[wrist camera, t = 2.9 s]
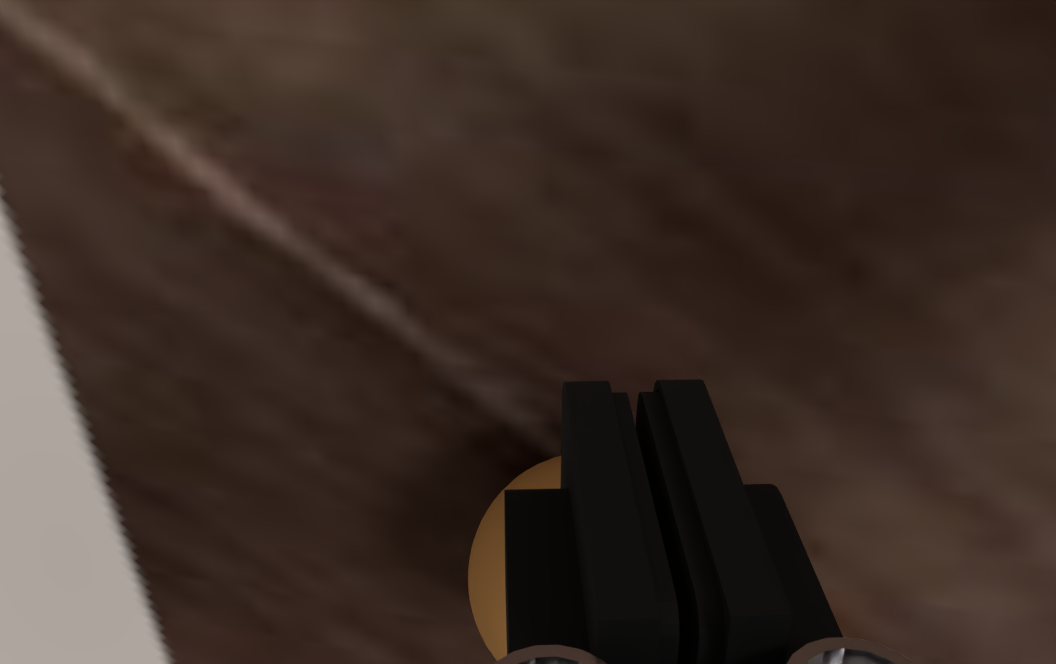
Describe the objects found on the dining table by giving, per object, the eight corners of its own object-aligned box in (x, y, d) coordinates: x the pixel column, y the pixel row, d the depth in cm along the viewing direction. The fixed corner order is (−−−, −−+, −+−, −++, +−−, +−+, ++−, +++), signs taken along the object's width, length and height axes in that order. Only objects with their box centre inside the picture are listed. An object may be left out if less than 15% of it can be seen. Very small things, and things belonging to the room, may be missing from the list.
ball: (469, 405, 25) (458, 566, 20) (704, 403, 25) (756, 564, 20) (474, 584, 28) (466, 767, 23) (686, 582, 28) (727, 764, 23)
